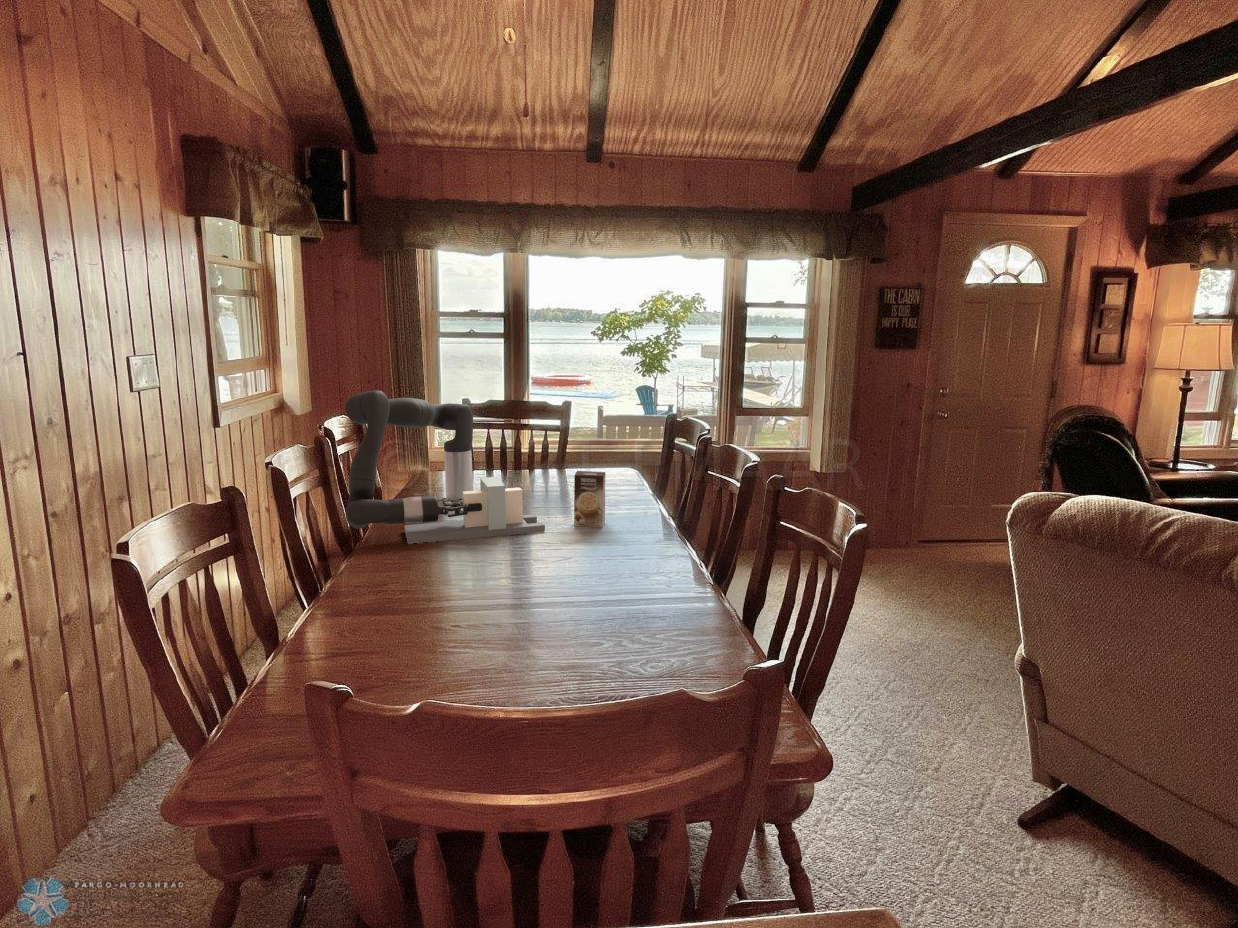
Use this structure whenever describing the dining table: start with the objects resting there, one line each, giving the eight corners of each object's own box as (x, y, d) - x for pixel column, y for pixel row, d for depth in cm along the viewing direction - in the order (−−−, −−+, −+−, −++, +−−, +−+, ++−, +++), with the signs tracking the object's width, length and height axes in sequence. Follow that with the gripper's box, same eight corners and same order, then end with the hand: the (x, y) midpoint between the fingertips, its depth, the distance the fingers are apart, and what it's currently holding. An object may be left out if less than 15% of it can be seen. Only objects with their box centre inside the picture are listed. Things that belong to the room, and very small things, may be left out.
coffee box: (573, 526, 220) (572, 474, 217) (576, 521, 226) (576, 470, 223) (603, 527, 219) (603, 475, 216) (605, 521, 225) (605, 471, 222)
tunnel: (481, 518, 220) (480, 478, 217) (497, 517, 222) (496, 476, 219) (488, 529, 208) (487, 486, 206) (506, 528, 210) (505, 485, 208)
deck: (404, 531, 213) (404, 525, 212) (534, 520, 226) (534, 514, 226) (408, 544, 201) (407, 537, 200) (544, 531, 214) (544, 525, 214)
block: (463, 524, 214) (462, 491, 212) (520, 519, 219) (519, 487, 218) (465, 527, 210) (464, 494, 209) (522, 522, 216) (522, 489, 214)
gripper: (421, 502, 199) (484, 497, 205) (417, 491, 213) (476, 487, 218) (423, 528, 201) (485, 523, 207) (418, 516, 214) (476, 511, 220)
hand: (480, 504), depth 213 cm, fingers open, 4 cm apart
